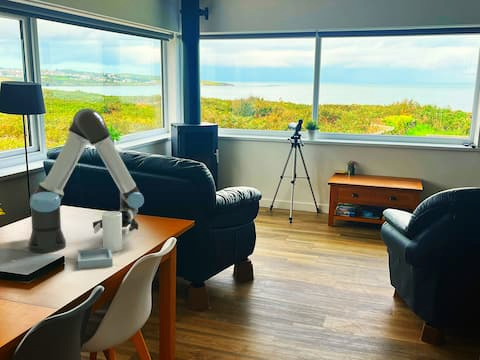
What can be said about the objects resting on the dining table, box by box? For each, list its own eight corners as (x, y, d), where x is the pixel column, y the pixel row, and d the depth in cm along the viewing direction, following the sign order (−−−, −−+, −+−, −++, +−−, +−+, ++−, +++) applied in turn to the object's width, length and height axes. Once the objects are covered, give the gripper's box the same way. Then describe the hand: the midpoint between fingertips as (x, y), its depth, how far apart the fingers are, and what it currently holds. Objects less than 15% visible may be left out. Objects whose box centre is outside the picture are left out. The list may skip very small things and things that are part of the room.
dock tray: (78, 268, 180) (77, 261, 180) (77, 257, 192) (77, 250, 192) (112, 265, 185) (112, 258, 184) (110, 254, 197) (110, 247, 196)
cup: (114, 244, 210) (114, 210, 207) (126, 248, 205) (125, 213, 202) (99, 248, 204) (98, 213, 201) (110, 253, 198) (109, 217, 195)
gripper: (149, 226, 221) (139, 240, 200) (97, 224, 221) (82, 238, 200) (149, 211, 220) (139, 223, 199) (96, 209, 220) (81, 221, 199)
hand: (110, 231), depth 200 cm, fingers open, 13 cm apart
